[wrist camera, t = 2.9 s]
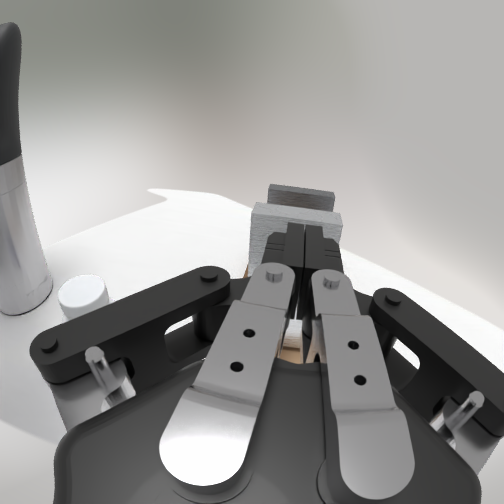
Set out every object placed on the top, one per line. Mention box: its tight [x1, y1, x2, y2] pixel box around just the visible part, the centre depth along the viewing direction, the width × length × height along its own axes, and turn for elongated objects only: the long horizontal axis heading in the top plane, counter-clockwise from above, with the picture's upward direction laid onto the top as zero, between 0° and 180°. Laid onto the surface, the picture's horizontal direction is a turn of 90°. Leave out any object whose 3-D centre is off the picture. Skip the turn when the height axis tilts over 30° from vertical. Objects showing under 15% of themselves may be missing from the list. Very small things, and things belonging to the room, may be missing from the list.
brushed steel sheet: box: [248, 202, 343, 348], centre depth 23 cm, size 9×2×12 cm, turn 80°
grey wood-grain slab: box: [267, 184, 335, 212], centre depth 37 cm, size 8×2×9 cm, turn 80°
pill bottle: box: [58, 274, 116, 323], centre depth 21 cm, size 5×5×9 cm
